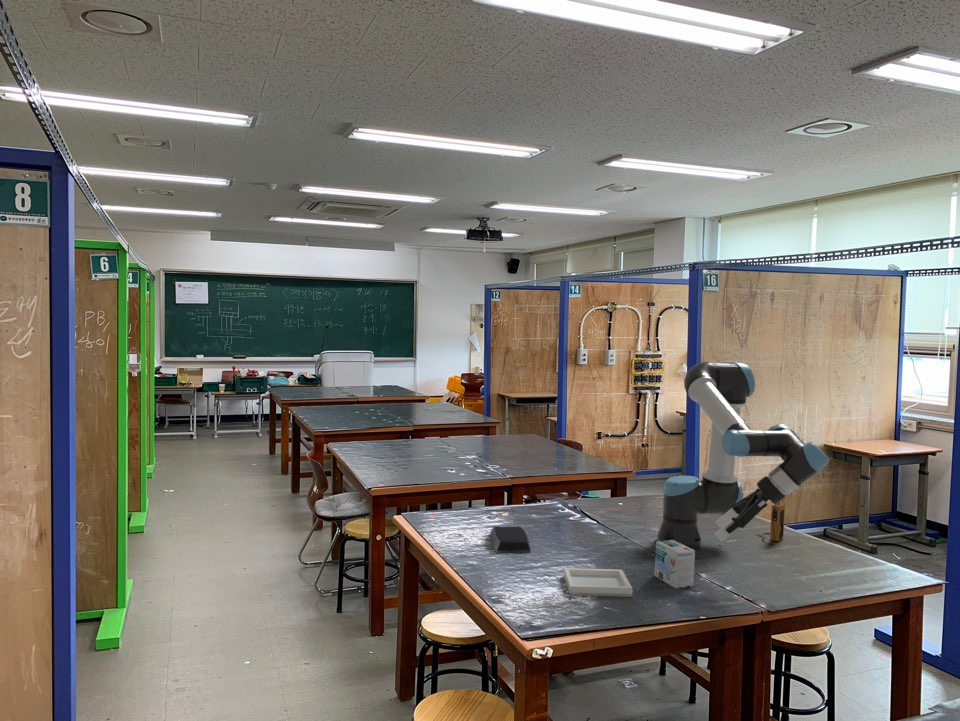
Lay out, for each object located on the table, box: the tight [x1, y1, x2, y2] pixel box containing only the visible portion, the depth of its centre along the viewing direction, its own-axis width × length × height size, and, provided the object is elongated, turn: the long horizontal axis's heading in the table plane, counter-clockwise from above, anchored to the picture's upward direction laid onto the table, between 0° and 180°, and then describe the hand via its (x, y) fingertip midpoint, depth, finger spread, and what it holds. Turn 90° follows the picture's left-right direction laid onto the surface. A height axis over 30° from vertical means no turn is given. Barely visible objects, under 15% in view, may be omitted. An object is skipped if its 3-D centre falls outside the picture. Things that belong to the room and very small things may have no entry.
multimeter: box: [756, 499, 786, 544], centre depth 244 cm, size 15×10×20 cm
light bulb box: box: [654, 540, 696, 589], centre depth 199 cm, size 11×7×11 cm, turn 21°
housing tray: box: [563, 567, 634, 598], centre depth 193 cm, size 14×17×2 cm
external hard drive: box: [489, 526, 531, 554], centre depth 230 cm, size 13×19×4 cm
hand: (718, 531), depth 194 cm, fingers open, 13 cm apart
